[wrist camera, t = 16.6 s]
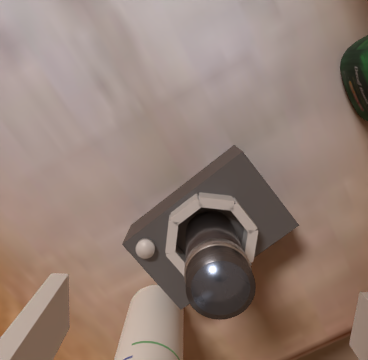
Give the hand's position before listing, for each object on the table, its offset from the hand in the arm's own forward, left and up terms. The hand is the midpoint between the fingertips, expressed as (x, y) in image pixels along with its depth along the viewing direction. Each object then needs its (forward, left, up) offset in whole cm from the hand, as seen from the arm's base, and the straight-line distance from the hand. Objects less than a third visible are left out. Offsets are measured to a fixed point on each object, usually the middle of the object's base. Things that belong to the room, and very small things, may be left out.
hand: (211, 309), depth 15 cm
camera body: (+2, +4, -26) cm, 27 cm away
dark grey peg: (+2, +4, -20) cm, 21 cm away
